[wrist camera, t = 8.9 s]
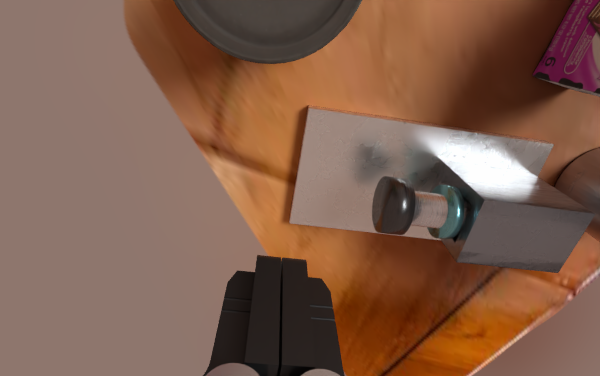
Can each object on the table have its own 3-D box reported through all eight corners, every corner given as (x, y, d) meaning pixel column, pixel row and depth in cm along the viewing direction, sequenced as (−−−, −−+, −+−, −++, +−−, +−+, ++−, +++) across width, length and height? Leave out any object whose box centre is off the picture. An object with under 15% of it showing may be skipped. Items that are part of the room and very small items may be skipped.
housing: (545, 140, 36) (629, 180, 27) (495, 241, 41) (550, 300, 33) (308, 105, 33) (316, 136, 24) (289, 217, 39) (290, 275, 30)
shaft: (558, 190, 34) (601, 218, 29) (535, 233, 36) (571, 265, 32) (381, 167, 32) (398, 192, 27) (368, 213, 34) (381, 244, 30)
